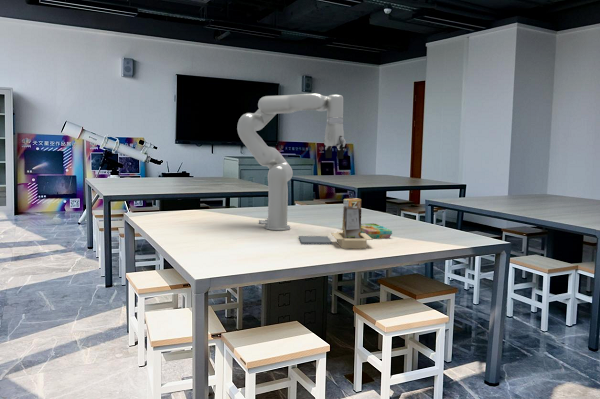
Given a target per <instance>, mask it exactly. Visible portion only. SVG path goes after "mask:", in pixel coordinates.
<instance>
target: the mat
mask: <svg viewBox="0 0 600 399" xmlns="http://www.w3.org/2000/svg"><path fill="white" fill-rule="evenodd" d="M298 241H299V242H300V244H301V245H333V241H332V240H331V239H330V237H329V236H327V235H326V236H325V235H324V236H322V235H313V236H312V235H311V236H310V235H301V236H300V235H298Z"/></svg>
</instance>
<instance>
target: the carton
mask: <svg viewBox="0 0 600 399" xmlns="http://www.w3.org/2000/svg"><path fill="white" fill-rule="evenodd" d="M330 234H331V235H332V236H333V238H334V239H335V242H336V243H337V244H338V245H339V246H340V248H341V249H367V242H368V241H370V240H371V241H373V239H374V238H371V237H369V236H368V235H367V234H366V233H360V238H343V231H337V232H330Z"/></svg>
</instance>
